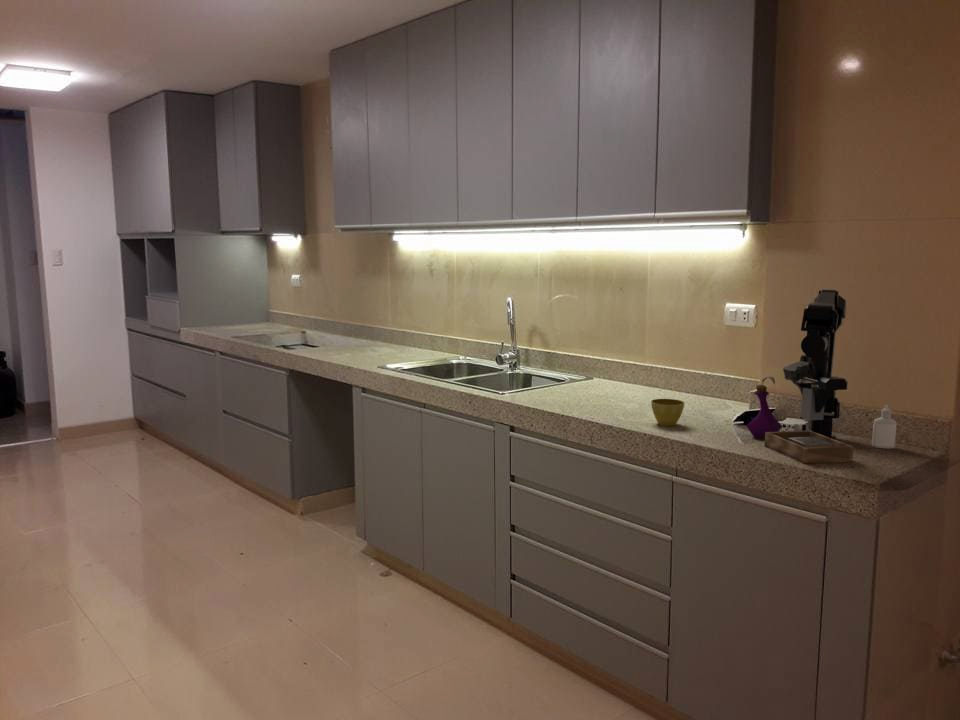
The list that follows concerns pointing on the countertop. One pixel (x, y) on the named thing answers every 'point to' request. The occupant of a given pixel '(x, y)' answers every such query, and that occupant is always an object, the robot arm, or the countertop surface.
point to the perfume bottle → (763, 415)
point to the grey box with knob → (810, 405)
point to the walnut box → (808, 455)
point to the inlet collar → (810, 442)
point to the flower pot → (667, 411)
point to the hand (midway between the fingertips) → (812, 410)
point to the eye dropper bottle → (884, 430)
